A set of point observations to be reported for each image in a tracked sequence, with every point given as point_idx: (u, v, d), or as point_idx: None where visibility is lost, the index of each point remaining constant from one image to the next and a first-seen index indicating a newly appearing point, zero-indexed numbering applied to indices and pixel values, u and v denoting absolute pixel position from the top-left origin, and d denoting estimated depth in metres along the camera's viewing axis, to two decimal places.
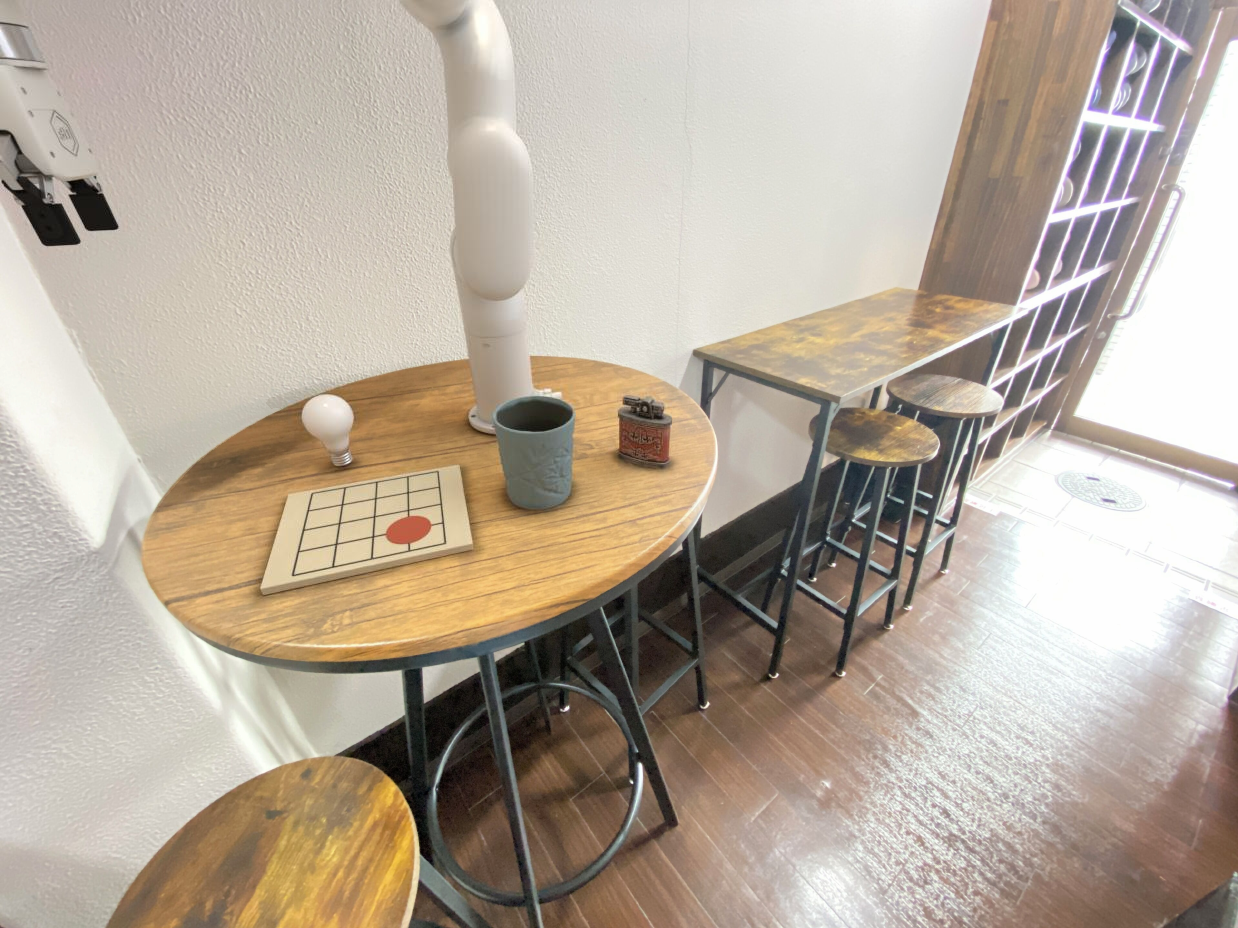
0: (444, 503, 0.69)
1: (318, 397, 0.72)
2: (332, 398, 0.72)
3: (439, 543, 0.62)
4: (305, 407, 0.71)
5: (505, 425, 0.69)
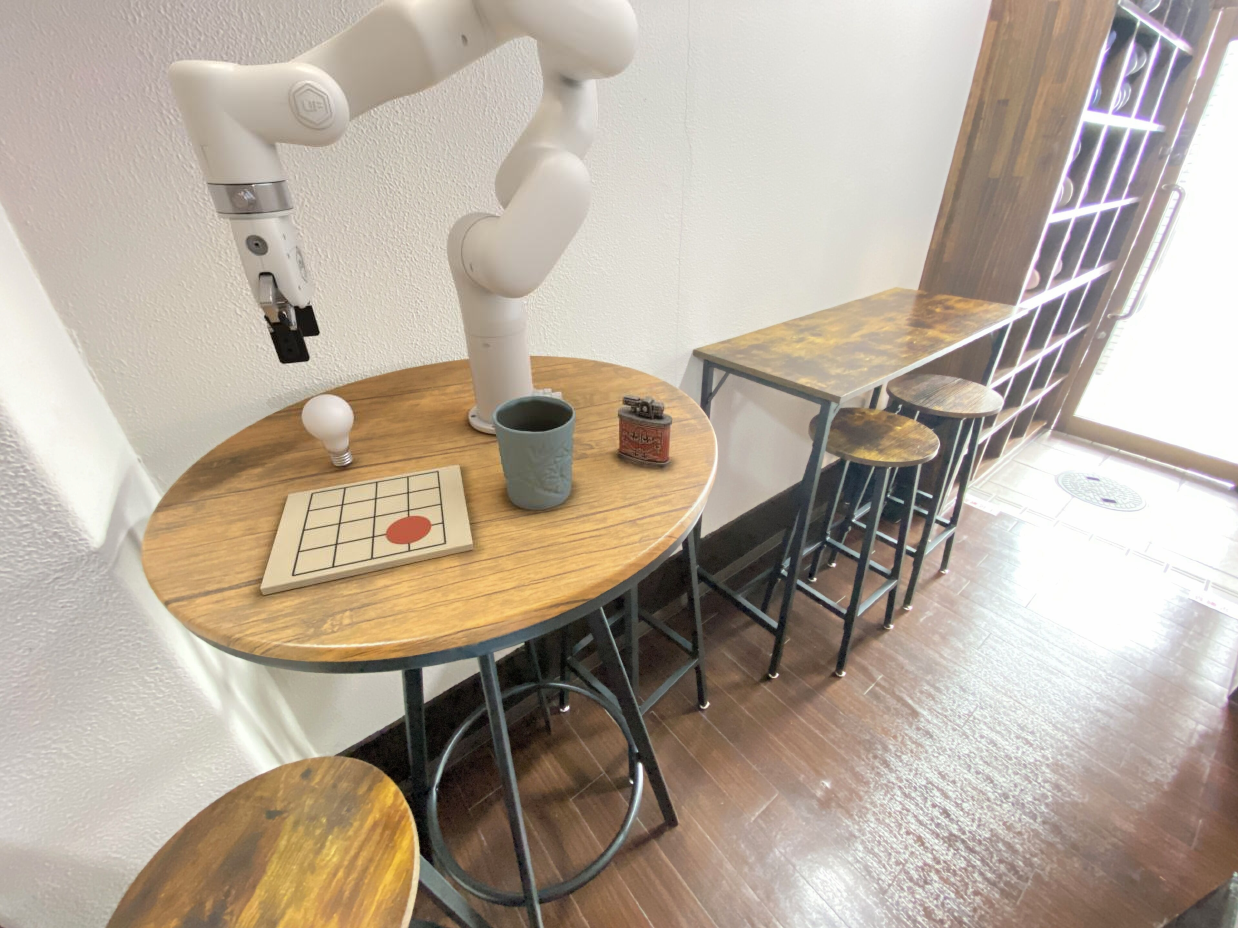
0: (444, 503, 0.69)
1: (318, 397, 0.72)
2: (332, 398, 0.72)
3: (439, 543, 0.62)
4: (305, 407, 0.71)
5: (505, 425, 0.69)
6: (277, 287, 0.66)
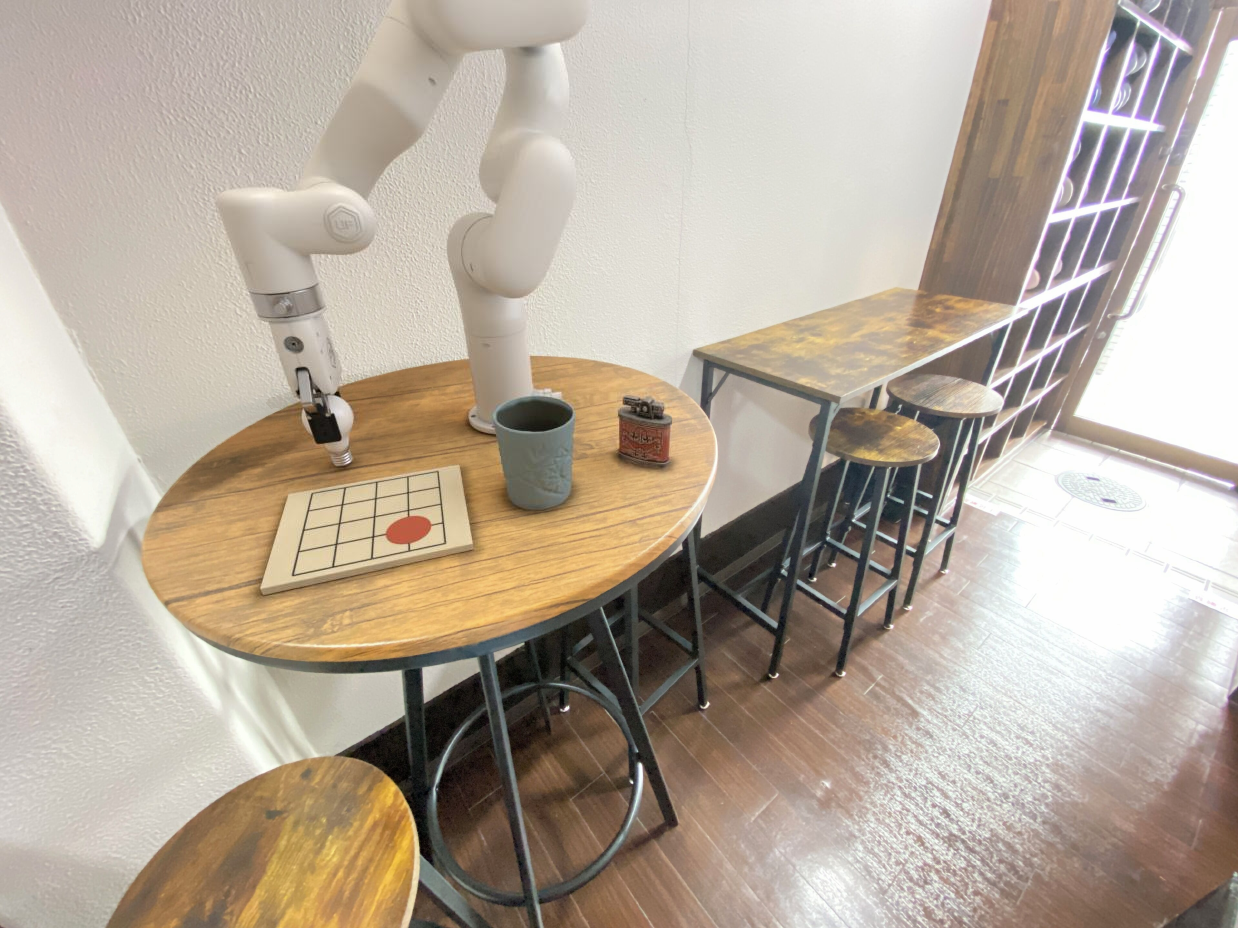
0: (444, 503, 0.69)
1: None
2: (332, 398, 0.72)
3: (439, 543, 0.62)
4: None
5: (505, 425, 0.69)
6: None
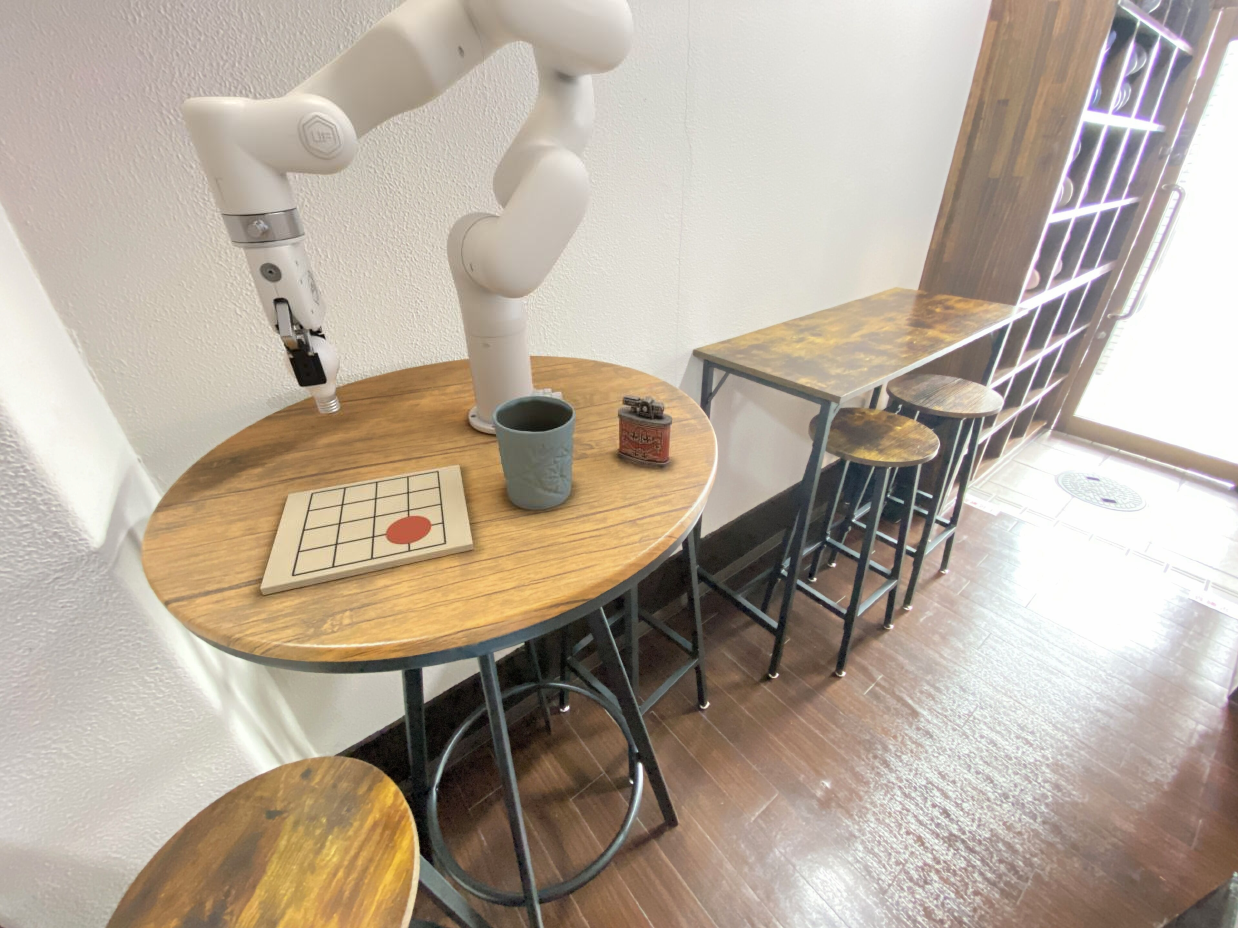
0: (444, 503, 0.69)
1: (301, 337, 0.68)
2: (315, 338, 0.68)
3: (439, 543, 0.62)
4: None
5: (505, 425, 0.69)
6: None
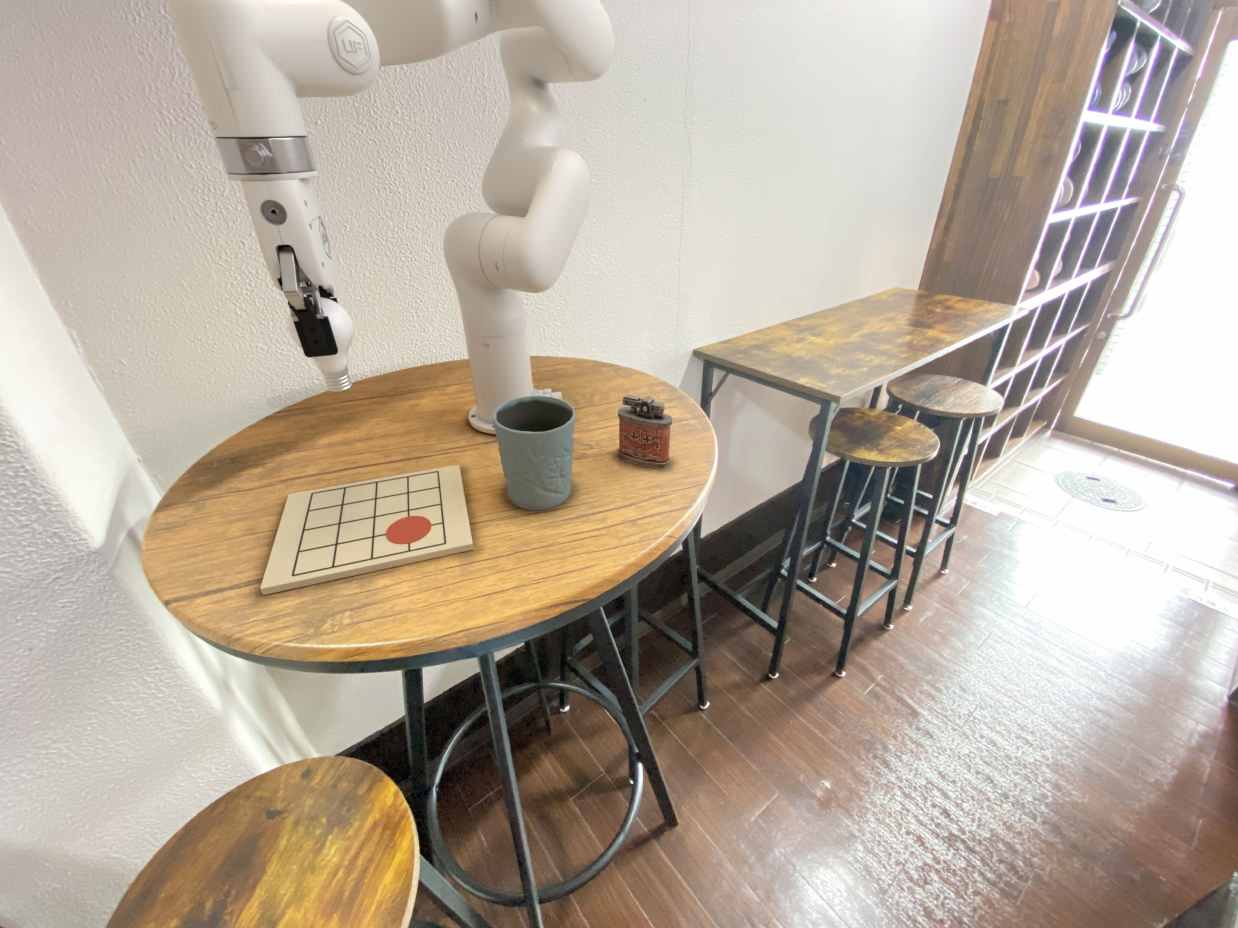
0: (444, 503, 0.69)
1: None
2: (325, 301, 0.57)
3: (439, 543, 0.62)
4: None
5: (505, 425, 0.69)
6: None
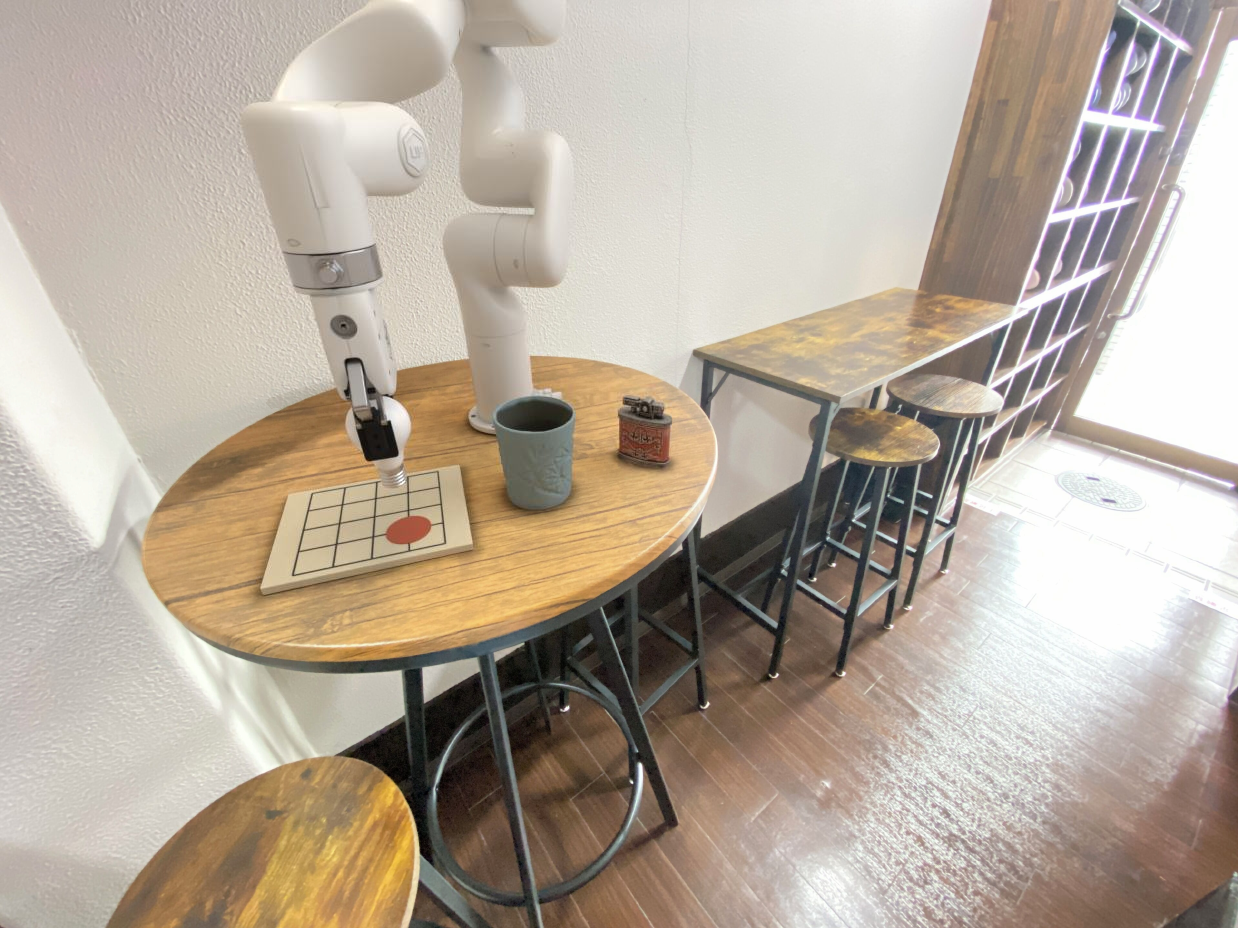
0: (444, 503, 0.69)
1: None
2: (385, 400, 0.55)
3: (439, 543, 0.62)
4: (351, 412, 0.54)
5: (506, 425, 0.69)
6: None
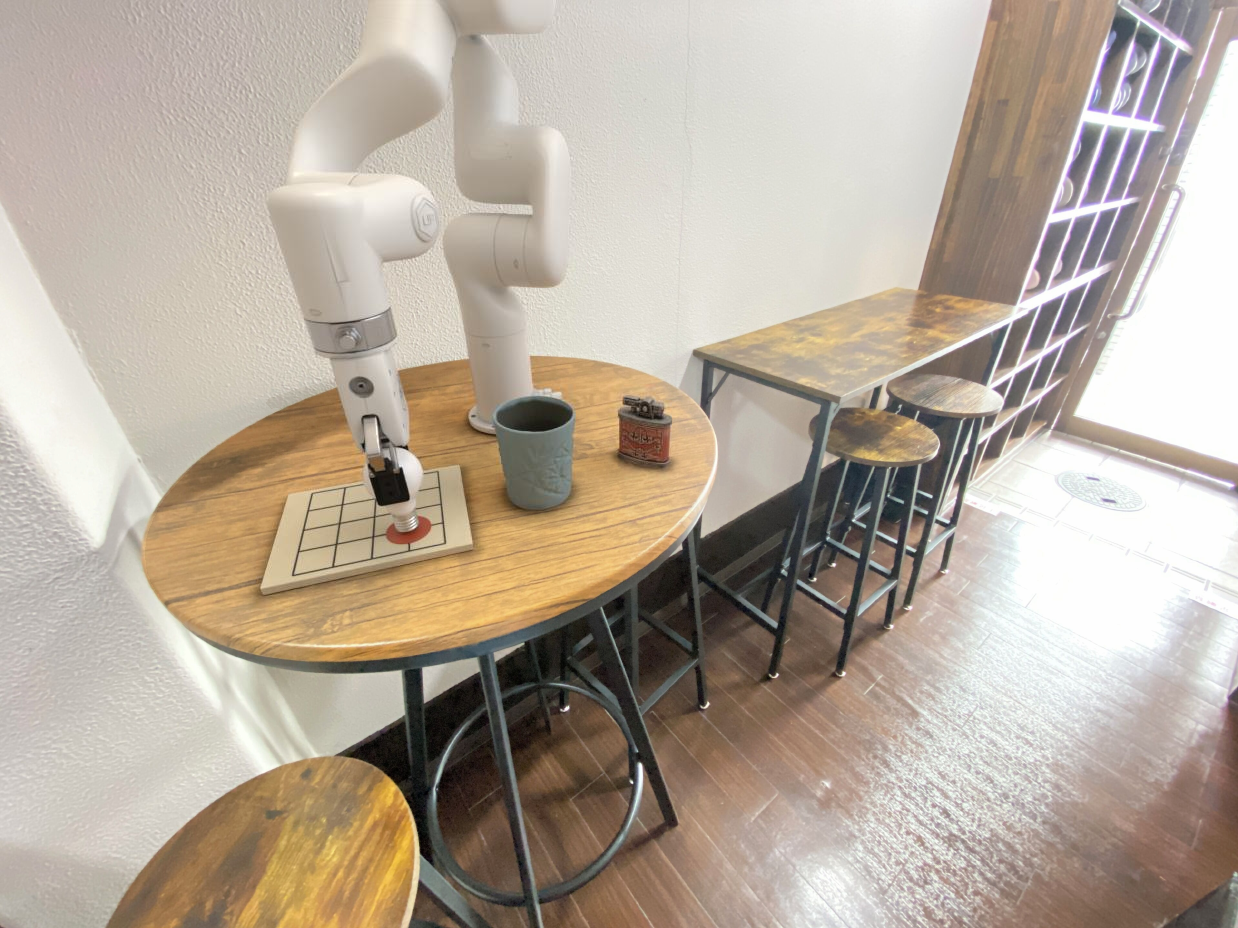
0: (444, 503, 0.69)
1: (383, 452, 0.58)
2: (399, 453, 0.58)
3: (439, 543, 0.62)
4: None
5: (506, 425, 0.69)
6: None
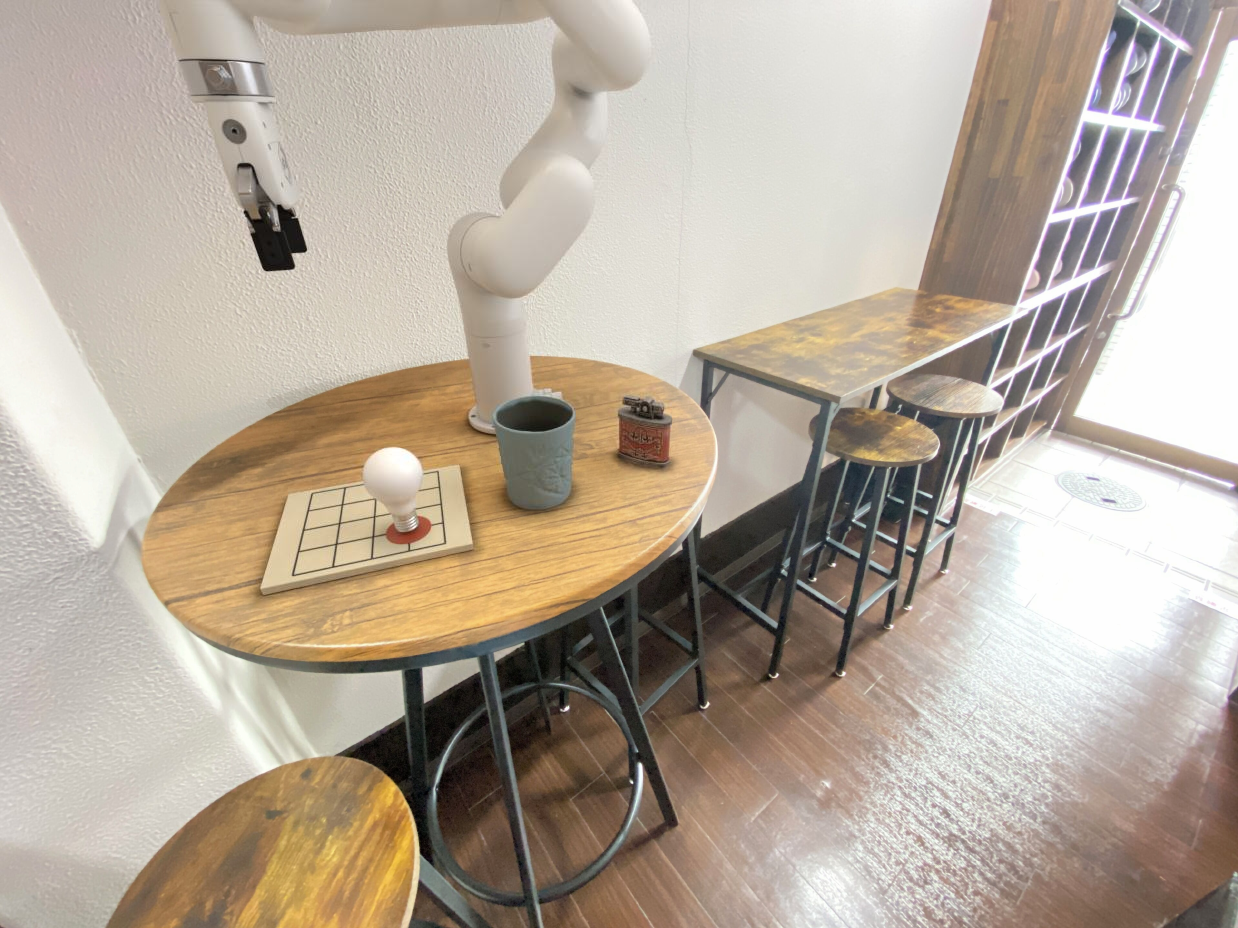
0: (444, 503, 0.69)
1: (383, 452, 0.58)
2: (399, 453, 0.58)
3: (439, 543, 0.62)
4: (367, 465, 0.57)
5: (506, 425, 0.69)
6: None
